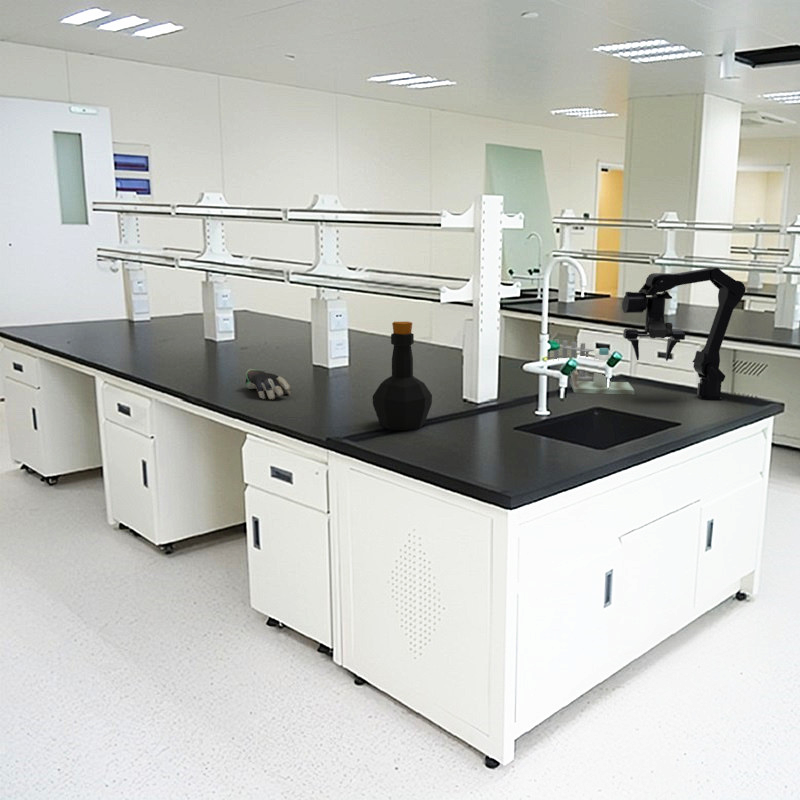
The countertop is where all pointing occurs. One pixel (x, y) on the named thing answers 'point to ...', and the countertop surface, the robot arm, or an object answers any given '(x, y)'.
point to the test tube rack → (573, 354)
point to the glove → (266, 383)
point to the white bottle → (599, 378)
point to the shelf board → (590, 388)
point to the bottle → (402, 387)
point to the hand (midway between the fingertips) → (652, 360)
